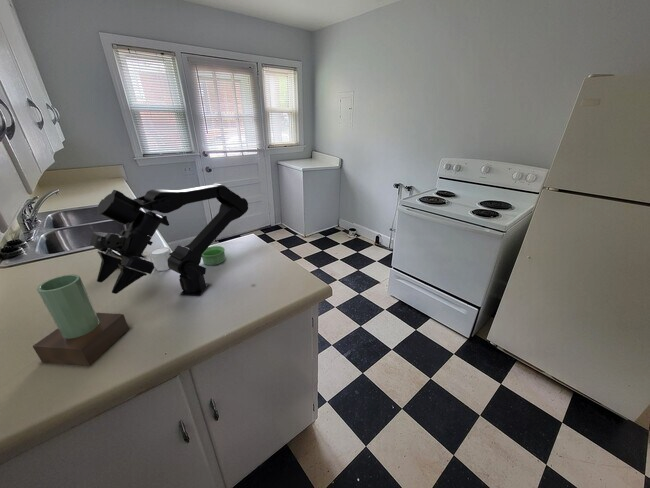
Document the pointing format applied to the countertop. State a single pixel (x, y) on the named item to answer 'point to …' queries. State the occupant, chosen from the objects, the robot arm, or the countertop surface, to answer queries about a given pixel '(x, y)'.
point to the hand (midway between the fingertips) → (106, 287)
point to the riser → (82, 342)
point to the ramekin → (213, 255)
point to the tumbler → (69, 305)
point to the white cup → (160, 258)
